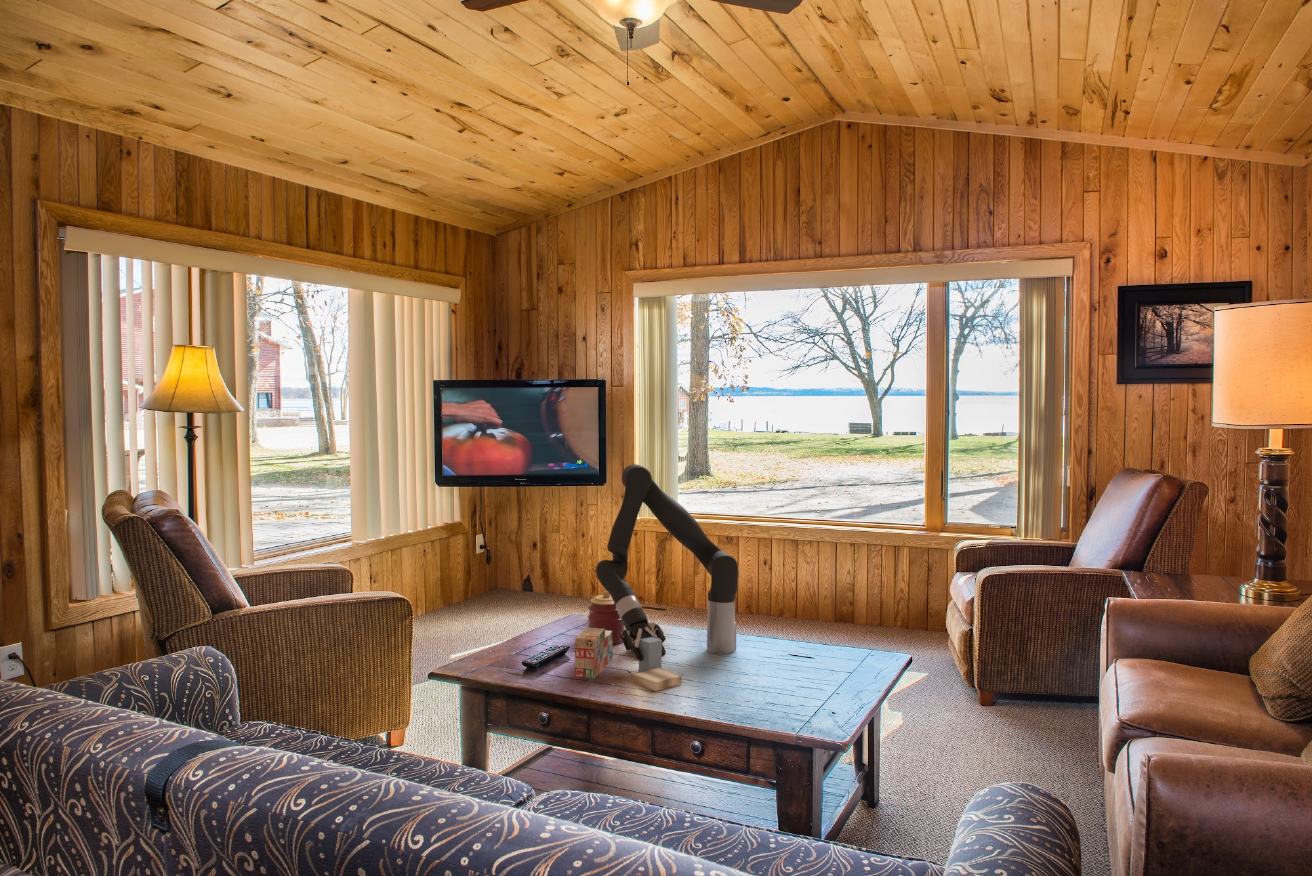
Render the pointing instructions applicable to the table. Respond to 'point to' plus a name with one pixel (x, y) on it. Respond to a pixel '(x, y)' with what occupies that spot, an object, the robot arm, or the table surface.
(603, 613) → the canister
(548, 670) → the table surface
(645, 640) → the column
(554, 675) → the table surface
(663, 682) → the base slab
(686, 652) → the table surface
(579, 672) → the stack of blocks
